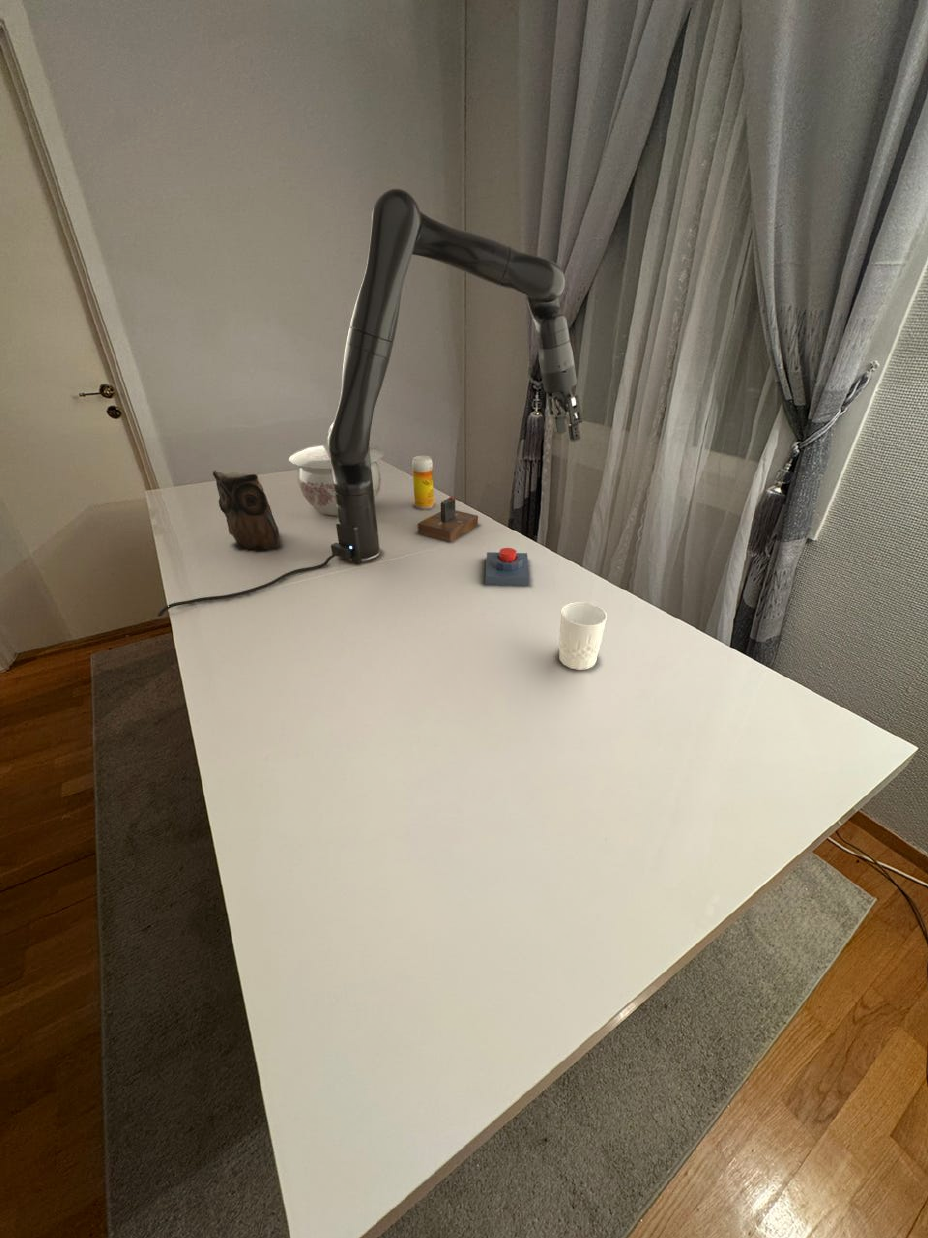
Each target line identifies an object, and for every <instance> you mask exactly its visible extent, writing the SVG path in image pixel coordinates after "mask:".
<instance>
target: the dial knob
mask: <svg viewBox="0 0 928 1238" xmlns="http://www.w3.org/2000/svg"><path fill="white" fill-rule="evenodd" d="M455 510H456V498H455V496H449V497H448V498H446V499H445V500H442V501H440V511H441V522H447V521H449V520H451V519H453V518H455V517H456V513H455Z"/></svg>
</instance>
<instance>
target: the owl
mask: <svg viewBox="0 0 928 1238" xmlns="http://www.w3.org/2000/svg"><path fill="white" fill-rule="evenodd" d="M212 476H213V477H214V479H215V483H216V489H217V492H218V496H219V499H218V505H219V508H220V511H221V512H222V513H223V515H224V516H225V518H226V525H227V528H228V533H229V535H231V536H232V537H233V539H234V540H235V543H234V544H233V546H234V547H235V548H236V549H237V550H240V551H241V550H242V551H243V550H247V551H248V552H250V551H254V552H256V553H259V552H267V551H272V550H278V549H280V547H281V546H280V533H279V532H280V531H279V527H278V525H277V523H276V521H275V518H274V515H273V512H272V509H271V505H270V503H269V501H268V497H267V495H266V494H265V492H264V487H263V485H262V484H261V482H260V480H259V476H258V475H257V474H256V473H247V472H239V471H228V472H224V471H223V472H222V471H221V472H220V471H217V470H213V471H212Z"/></svg>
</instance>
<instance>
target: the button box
mask: <svg viewBox="0 0 928 1238" xmlns="http://www.w3.org/2000/svg"><path fill="white" fill-rule="evenodd" d="M485 568H486V569H485V582H484V583H485V586H517V587H519V586H520V587H529V586H530V570H529V569H530V568H529V559H528V553H527V552H516V560H515V561H512V562H504V561H500V560H499V551H498V552H493V551H492V552H491V551H488V552H486V563H485Z"/></svg>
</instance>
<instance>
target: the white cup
mask: <svg viewBox="0 0 928 1238" xmlns="http://www.w3.org/2000/svg"><path fill="white" fill-rule="evenodd" d="M607 619H608V614H607V612H606V611H605V610H604V609H603V608H602V607H600V606H599V605H597V604H594V603H591V602H587V601H586V602H585V601H575V602H570V603H567V604H565V605H563V607H562V608H561V610H560V619H559V643H558V646H559V650H558V651H559V652H558V657H559V661H560V662H561V663H562V665H564V666H565V667H567V668H569V669H573V670H577V671H582V670H583V671H584V670H588V669H591V668H593V667H594V666H595V664H596V663H597V659H598V655H599V652H600V650H601V649H600V648H601V644H602V641H603V636H604V632H605V627H606V623H607Z"/></svg>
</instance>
